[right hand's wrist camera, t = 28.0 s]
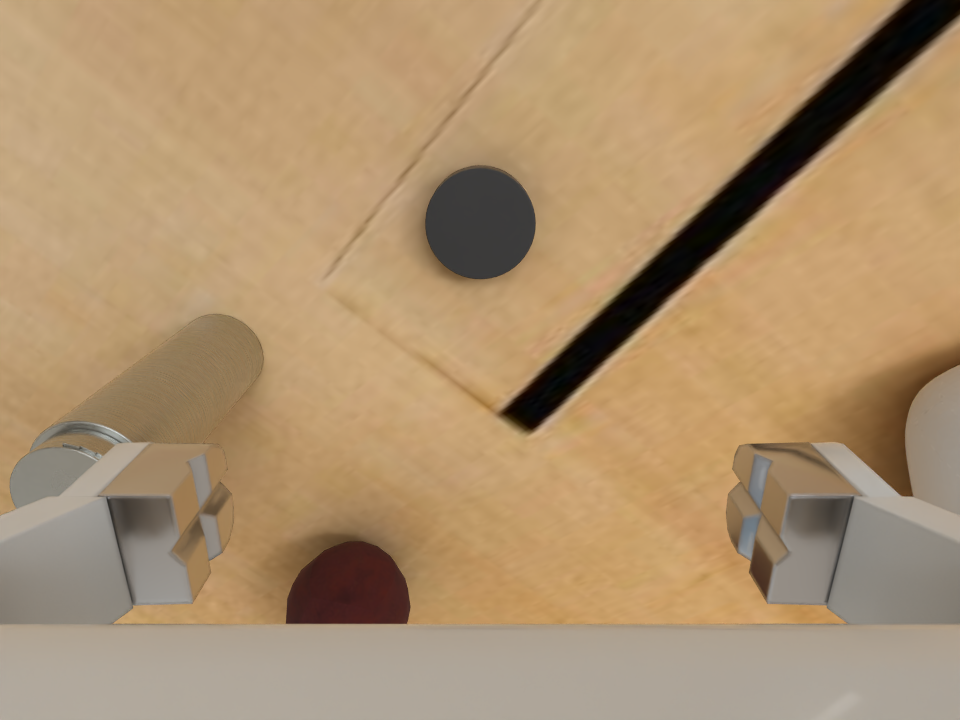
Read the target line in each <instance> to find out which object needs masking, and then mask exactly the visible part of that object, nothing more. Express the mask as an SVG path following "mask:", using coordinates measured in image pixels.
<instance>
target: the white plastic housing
mask: <svg viewBox="0 0 960 720" xmlns="http://www.w3.org/2000/svg"><path fill="white" fill-rule="evenodd" d="M905 448H906V457H907V464H908V470H909V476H910V482H911V487H912V493H913V497H915V498H917V499H920V500H922V501H925V502H927V503H930V504H932V505H935V506H937V507H940V508H942V509H945V510H947V511H950V512H952V513H955V514H957V515H960V365H958V366H956V367H954V368H951V369H949V370H948V371H946V372H944V373H942V374H941V375H939V376H937V377H935V378H934V379H933V380H931V381H930V382H929V383H927V384H926V385H925V386H924V387H923V388H922V389H921V390H920V391H919V392H918V394H917V395H916V397H915V398H914V400H913V402H912V404H911V407H910V409H909V413H908V417H907V422H906V428H905Z"/></svg>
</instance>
